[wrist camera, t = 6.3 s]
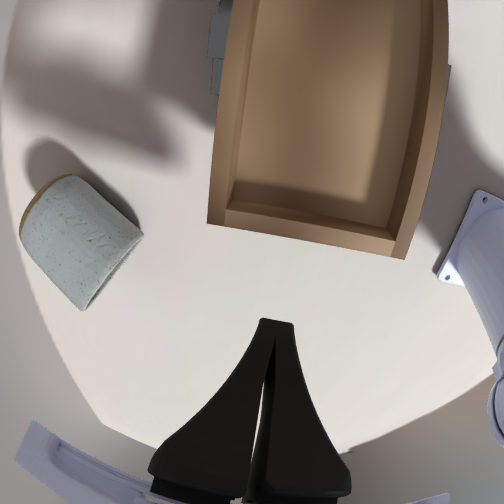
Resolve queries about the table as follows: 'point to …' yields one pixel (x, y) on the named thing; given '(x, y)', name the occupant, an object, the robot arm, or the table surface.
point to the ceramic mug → (77, 238)
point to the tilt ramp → (329, 120)
